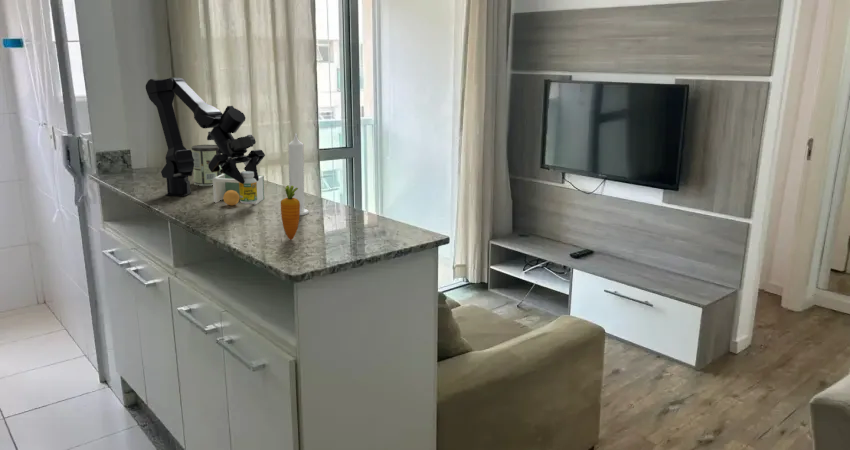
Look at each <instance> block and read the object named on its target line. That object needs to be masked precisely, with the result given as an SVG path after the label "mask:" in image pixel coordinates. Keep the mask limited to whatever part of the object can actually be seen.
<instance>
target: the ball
mask: <svg viewBox="0 0 850 450" xmlns="http://www.w3.org/2000/svg"><path fill="white" fill-rule="evenodd" d="M222 200H223V202H224V203H225V204H226V205H228V206H236V205H237V204H238V203H239V201H240V198H239V194H238V193H237V192H236V191H234V190H229V191H227V192H226V193H225V194H224V196H223V199H222Z"/></svg>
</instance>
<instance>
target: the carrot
mask: <svg viewBox="0 0 850 450" xmlns="http://www.w3.org/2000/svg"><path fill="white" fill-rule="evenodd" d="M293 188H294V186H291V187H290V189H289V184H288V185H286V186H285V188H284V190H285V194H286V197H285V198H283V199H282V200H280V215H281V216H280V217H281V221H282V226H283V230H284V233H285V234H286V237H287V239H288V240H289V241H292V240H293V239H294V237H295V236H296V234H297V230H298V227H299V224H300V216H301V215H300V202H299V201H298V200H297V199H296V198H292V197H293V196H294V195H295V193H294V192H295V191H296V190H297V189H298V188H295V189H294V190H293ZM292 190H293V191H292Z"/></svg>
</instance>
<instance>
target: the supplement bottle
mask: <svg viewBox="0 0 850 450" xmlns="http://www.w3.org/2000/svg"><path fill="white" fill-rule="evenodd" d="M240 173H241V175H242V177H243V179H244V181H245V182H244V184H242V183H240V182H239V193H240V198H239V201H240V203H242V204H249V205H250V204H253V203H255V202H257V181H256V179H255V178H253V177H254V172H253V171H245V170H244V171H240Z"/></svg>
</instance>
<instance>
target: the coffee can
mask: <svg viewBox="0 0 850 450" xmlns="http://www.w3.org/2000/svg"><path fill="white" fill-rule="evenodd" d="M218 150H219V148H218V146H217V145H216V144H196V145H191V151H192V156H193V159H194V160H195V161H194V168H193V172H192V175H193V185H194V186H198V185H199V187H200V186H201V187H213V186H212V185H213V178H215V177H217V176H219V175H221V174H223V173H220V171H221V169H222V168H221V166H220V165H219V167H220V170H219V171H218V172H211V171H210V169H209V167H208V164H209V162H210V161H211V160H212V158H213V157H214V155H218V154H219V153H218Z"/></svg>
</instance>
